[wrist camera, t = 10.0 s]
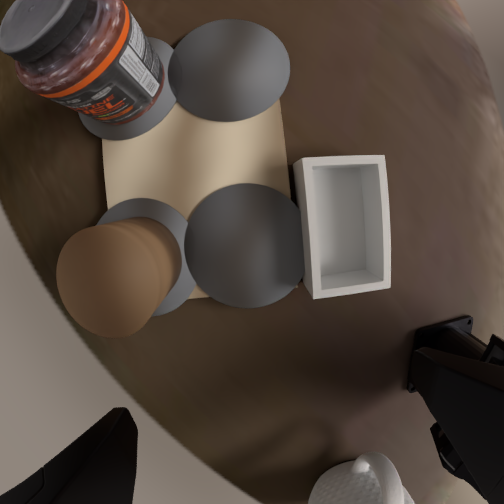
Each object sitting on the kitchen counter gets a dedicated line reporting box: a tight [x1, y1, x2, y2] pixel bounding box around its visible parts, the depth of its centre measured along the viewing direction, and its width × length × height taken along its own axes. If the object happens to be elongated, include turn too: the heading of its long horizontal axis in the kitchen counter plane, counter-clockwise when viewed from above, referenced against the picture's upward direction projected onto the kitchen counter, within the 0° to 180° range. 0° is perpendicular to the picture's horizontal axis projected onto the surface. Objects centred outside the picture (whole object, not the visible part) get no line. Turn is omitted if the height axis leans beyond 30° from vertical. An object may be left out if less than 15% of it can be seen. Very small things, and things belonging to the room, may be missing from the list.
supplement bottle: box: [0, 0, 165, 125], centre depth 11 cm, size 6×6×11 cm
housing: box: [293, 155, 391, 299], centre depth 18 cm, size 5×8×4 cm, turn 6°
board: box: [56, 19, 305, 339], centre depth 16 cm, size 15×20×7 cm
